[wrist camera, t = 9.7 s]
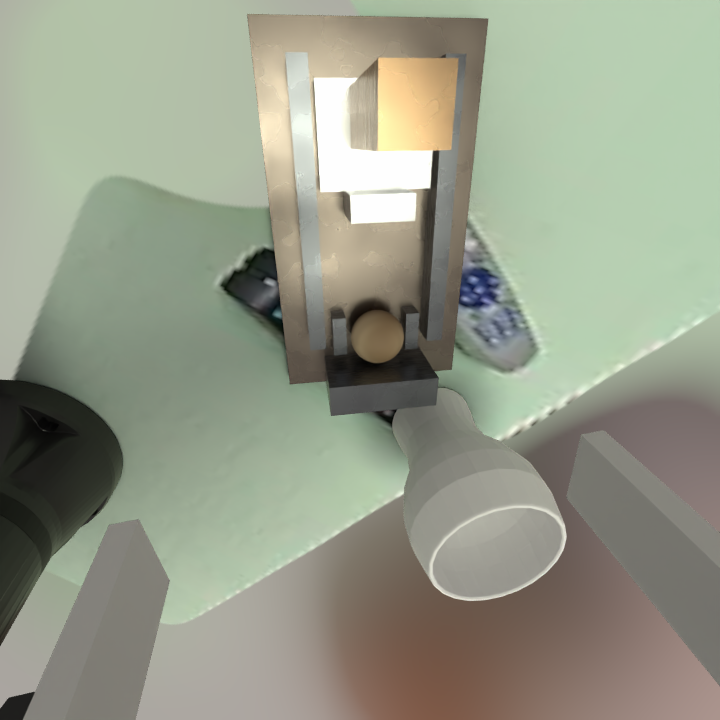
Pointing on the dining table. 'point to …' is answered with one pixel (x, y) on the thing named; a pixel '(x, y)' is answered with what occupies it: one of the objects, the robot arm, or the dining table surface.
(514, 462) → the cup
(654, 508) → the robot arm
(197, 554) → the dining table surface
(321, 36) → the press base
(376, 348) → the nut
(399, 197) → the wooden press block
